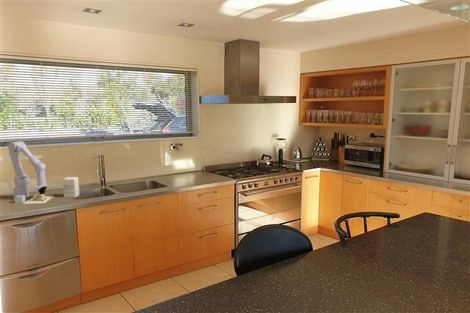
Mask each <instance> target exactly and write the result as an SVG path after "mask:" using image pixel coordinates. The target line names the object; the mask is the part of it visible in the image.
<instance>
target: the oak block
mask: <svg viewBox="0 0 470 313" xmlns="http://www.w3.org/2000/svg"><path fill="white" fill-rule="evenodd" d="M45 194H46V193H45ZM45 194H40V193H36V194H34V195H33V196H32V198H33V197H34V201H43V200H44V199H45V196H46V195H45Z"/></svg>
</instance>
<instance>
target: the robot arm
mask: <svg viewBox="0 0 470 313" xmlns="http://www.w3.org/2000/svg"><path fill="white" fill-rule="evenodd" d="M7 148H8V151H9V152H8V153H9V154H8V155H9V157H10V161H11V164H12V166H13V169H14V170H13V171H14V173H15V176H13V177H14V178H13V180H14V182H13V183H14V187H13V189H12V190H13V199H14V200H15V197H16V196H17V195H25V199H28V198H29V197H31V196H32V195H30V194H29V193H30V191H29V185H30V183H31V180H30V177H29V176H28V174H26V173H25V172H24V169H23V168H24V167H23V165H22V162H21V159H20V156H19V153H20V152H21V153H22V154H23V155H24V156H25V157H27V158H28V162H29V163H30V164H31V165H32V166H33V167H34V168H33V169H34V172H35V174H36V185H37V186H36V190H37V191H38V194H46V190H47V188H48V187H47V186H48V183H47V179H46V170H47V165H46V163H44V162H41V160H40V159H39V157H38V156H36V155H33V154H32V152H31V151H30V150H29V149H28V147H27V144H26V143H25V142H24V141H23V140H20V141H11V142H9V144H8V145H7Z"/></svg>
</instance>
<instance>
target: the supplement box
mask: <svg viewBox="0 0 470 313" xmlns="http://www.w3.org/2000/svg"><path fill="white" fill-rule="evenodd" d="M62 186H63V189H62V190H63V198H77V197H78V196H80V184H79V177H78V176H72V177H71V176H67V177H65V178H63V179H62Z"/></svg>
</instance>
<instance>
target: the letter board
mask: <svg viewBox="0 0 470 313" xmlns="http://www.w3.org/2000/svg"><path fill="white" fill-rule="evenodd" d="M54 197H55V195H47V196H46V195H45V199H44V200H43V201H34V197H33V196H32V197H31V198H30V199H28V200H27V201H24V202H23V203H22V205H29V204H46V203H47V202H48V201H50V200H51V199H53V198H54Z"/></svg>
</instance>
